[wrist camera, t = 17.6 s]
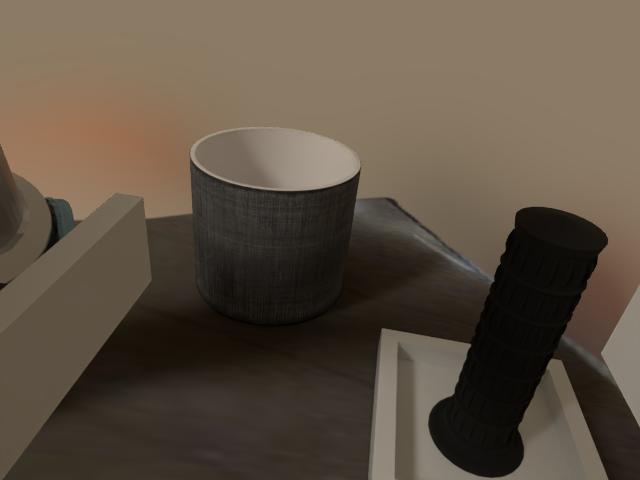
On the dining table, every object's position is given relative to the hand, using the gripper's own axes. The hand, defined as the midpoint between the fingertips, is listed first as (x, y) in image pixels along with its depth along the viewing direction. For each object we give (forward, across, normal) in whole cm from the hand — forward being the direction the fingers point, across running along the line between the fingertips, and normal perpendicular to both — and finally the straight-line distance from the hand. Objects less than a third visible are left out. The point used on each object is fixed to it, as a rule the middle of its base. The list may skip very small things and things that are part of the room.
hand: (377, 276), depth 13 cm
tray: (+24, +16, -36) cm, 46 cm away
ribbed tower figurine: (+24, +16, -35) cm, 45 cm away
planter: (+47, -12, -36) cm, 60 cm away
